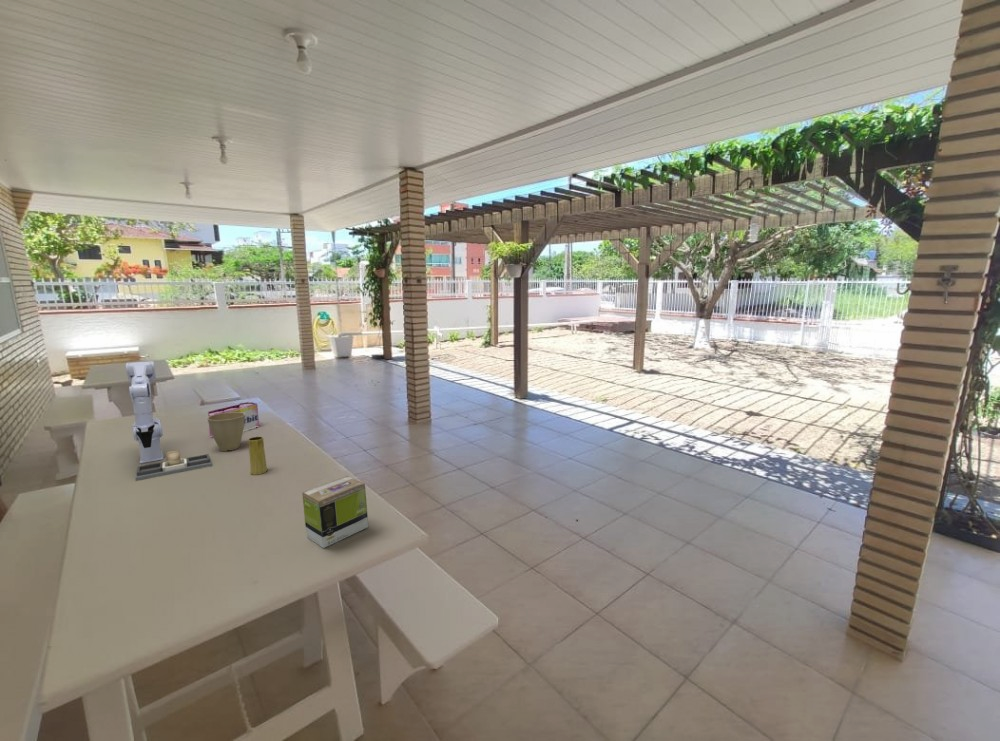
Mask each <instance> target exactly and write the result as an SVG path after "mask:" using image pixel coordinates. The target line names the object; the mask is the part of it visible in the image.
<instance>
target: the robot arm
mask: <svg viewBox="0 0 1000 741" xmlns="http://www.w3.org/2000/svg"><path fill="white" fill-rule="evenodd" d="M125 371H126V375H127V379H128V381H129V383H130V384H131V385H129V387H128V391H129V397H130V398H131V403H132V407H133V408H132V409H133V414H134V422H133V424H132V425H131V427H132V434H133V435H132V436H133V440H134V441H136V442H137V443H138V445H139V446H138V447H139V453H140V458H139V464H145V463H146V464H147V463H150V462H151V463H152V462H156V461H157V462H158V461H161V460H164V452H162V446H161V445H162V444H161V438H162V437H163V436H164V431H163V425H162V420H160V419H159V418H157V417H155V416H154V415H153V408H152V407H153V406H152V398H151V397H152V389H151V388H152V387H151V384H152V383H153V382H155V381H156V366H155V361H153V360H150V361H138V362H126V363H125Z"/></svg>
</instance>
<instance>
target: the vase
mask: <svg viewBox="0 0 1000 741" xmlns="http://www.w3.org/2000/svg"><path fill="white" fill-rule="evenodd" d="M247 441H248V449H249V450H248V451H249V463H250V472H249V473H250V475H252V474H253V476H257V474H259V475H263V474H265V473H267V472H268V467H267V461H266V452H265V445H264V444H265V443H264V436H252V437H250V438H248V439H247ZM266 471H267V472H266ZM262 473H263V474H262Z"/></svg>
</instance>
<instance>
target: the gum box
mask: <svg viewBox="0 0 1000 741" xmlns="http://www.w3.org/2000/svg"><path fill="white" fill-rule="evenodd" d="M229 412H241V413H245V422H244V429H243V430H246V429H249V428H252V427H254V426H258V425H259V426H260V419H259V408H258V403H255V402H247V401H246V402H243V403H239V404H235V405H231V406H226V407H223V408H218V409H214V410H210V411H207V415H208V416H207V418H208V417H209V416H212V415H216V414H221V413H229ZM208 429H209V437H210V436H212V437H213V435H212V432H211V429H210V426H209V425H208ZM212 437H211V438H212Z"/></svg>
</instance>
